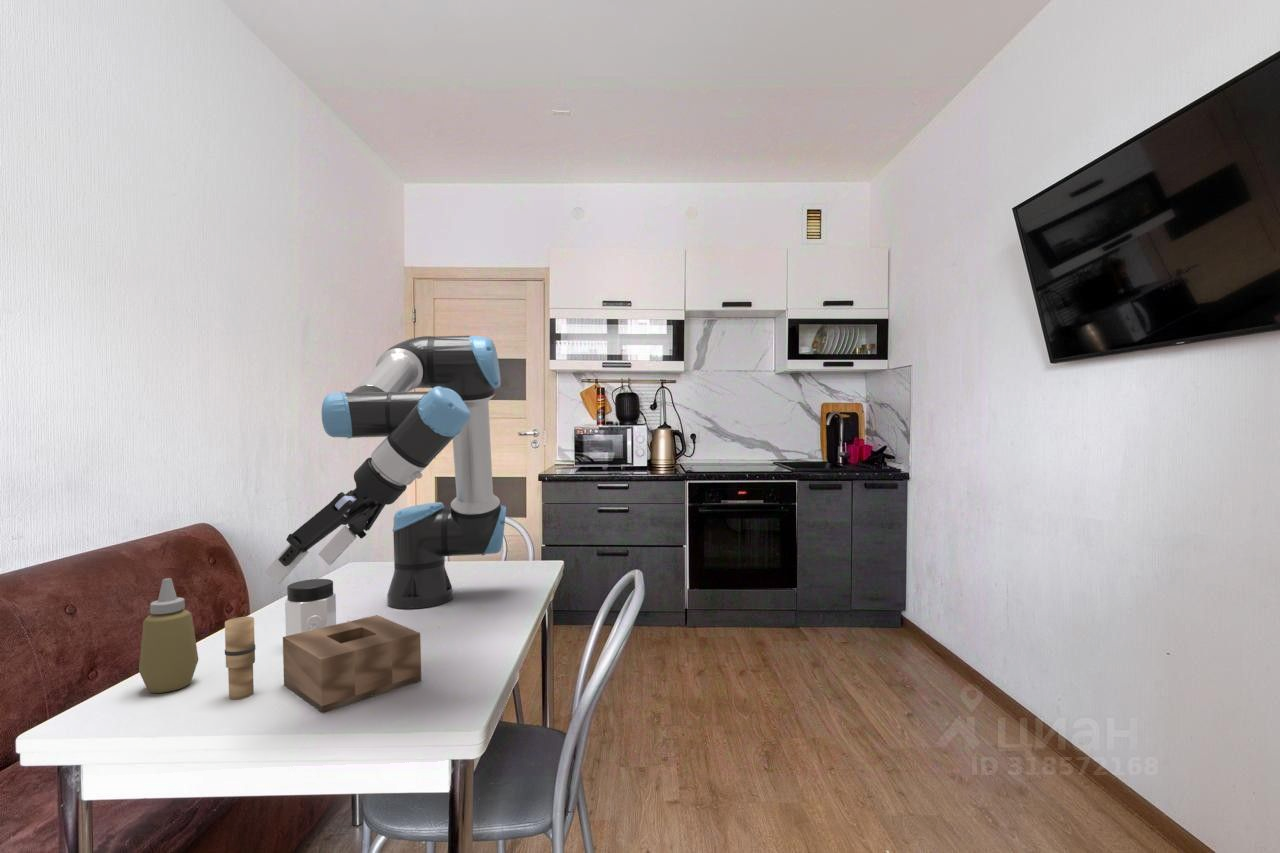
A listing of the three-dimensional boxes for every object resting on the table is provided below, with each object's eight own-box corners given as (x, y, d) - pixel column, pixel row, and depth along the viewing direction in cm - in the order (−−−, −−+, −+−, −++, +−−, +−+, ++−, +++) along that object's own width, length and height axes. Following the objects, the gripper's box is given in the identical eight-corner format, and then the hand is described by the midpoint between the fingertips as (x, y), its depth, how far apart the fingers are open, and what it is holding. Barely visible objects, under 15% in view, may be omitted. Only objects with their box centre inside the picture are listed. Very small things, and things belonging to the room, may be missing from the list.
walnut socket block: (378, 658, 121) (377, 615, 121) (421, 680, 110) (420, 632, 110) (284, 685, 109) (282, 636, 109) (321, 712, 98) (320, 659, 98)
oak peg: (251, 687, 109) (249, 614, 109) (260, 694, 106) (258, 619, 106) (222, 695, 106) (220, 620, 106) (230, 702, 103) (228, 626, 103)
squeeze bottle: (152, 701, 104) (149, 587, 104) (130, 690, 108) (127, 581, 108) (208, 683, 111) (205, 576, 111) (185, 674, 115) (182, 571, 115)
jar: (288, 655, 124) (286, 591, 124) (284, 643, 131) (282, 583, 131) (340, 645, 129) (338, 584, 129) (333, 634, 136) (331, 576, 136)
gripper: (365, 496, 90) (264, 605, 92) (438, 481, 115) (357, 567, 116) (327, 458, 91) (227, 567, 92) (408, 451, 116) (328, 538, 117)
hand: (300, 568), depth 104 cm, fingers open, 13 cm apart
